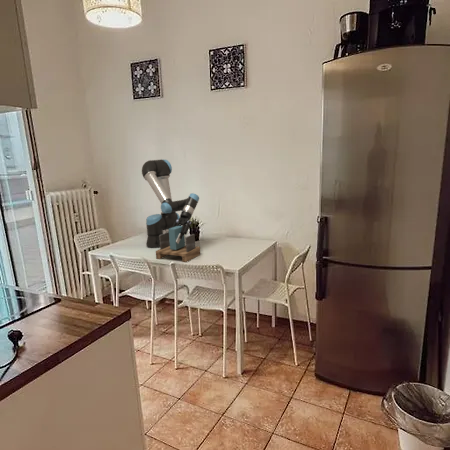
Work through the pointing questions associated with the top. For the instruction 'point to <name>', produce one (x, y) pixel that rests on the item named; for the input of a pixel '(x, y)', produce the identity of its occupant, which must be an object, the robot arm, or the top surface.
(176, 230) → the book
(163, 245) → the shelf
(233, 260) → the top surface
